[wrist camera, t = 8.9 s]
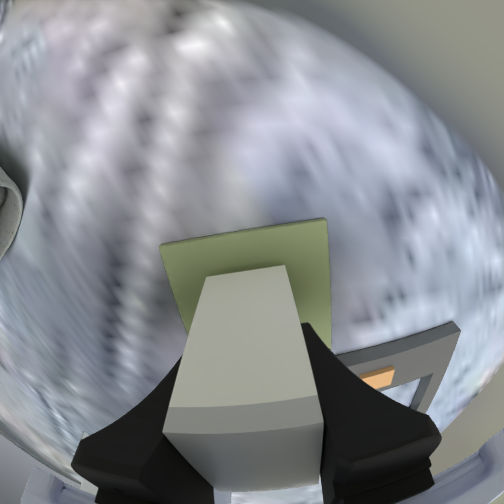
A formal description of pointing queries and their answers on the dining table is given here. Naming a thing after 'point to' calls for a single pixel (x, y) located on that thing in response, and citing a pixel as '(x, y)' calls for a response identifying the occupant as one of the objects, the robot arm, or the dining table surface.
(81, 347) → the dining table surface
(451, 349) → the grey square frame
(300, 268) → the rubber mat
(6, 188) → the ceramic mug
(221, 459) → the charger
